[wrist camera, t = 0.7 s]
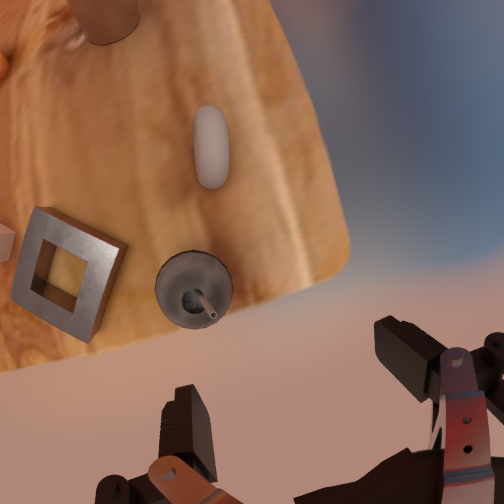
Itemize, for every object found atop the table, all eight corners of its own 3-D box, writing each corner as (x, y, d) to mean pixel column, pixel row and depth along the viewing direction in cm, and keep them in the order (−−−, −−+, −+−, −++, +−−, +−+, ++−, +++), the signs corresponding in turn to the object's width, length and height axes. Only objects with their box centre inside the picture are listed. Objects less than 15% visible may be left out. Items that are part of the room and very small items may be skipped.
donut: (224, 191, 37) (235, 182, 27) (197, 194, 36) (199, 185, 27) (217, 119, 36) (226, 89, 26) (191, 121, 35) (192, 91, 25)
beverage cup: (158, 251, 36) (123, 285, 17) (211, 233, 37) (232, 249, 18) (176, 303, 37) (165, 382, 18) (227, 286, 39) (264, 350, 19)
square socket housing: (27, 290, 32) (10, 299, 28) (51, 207, 32) (34, 206, 27) (98, 330, 35) (88, 344, 31) (128, 245, 35) (118, 248, 30)
